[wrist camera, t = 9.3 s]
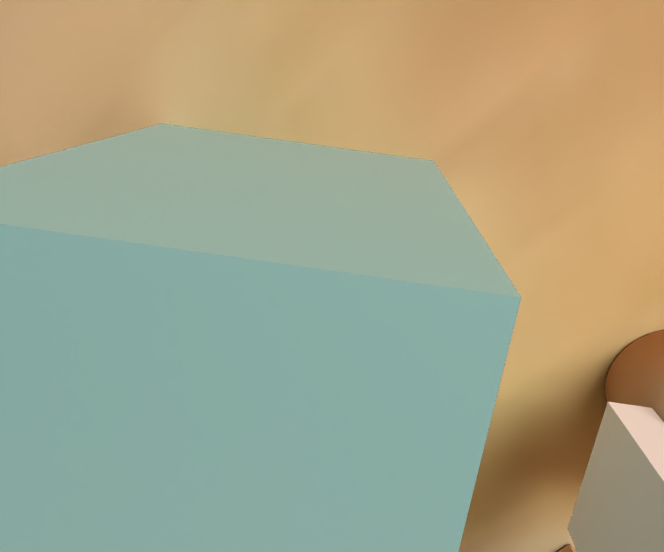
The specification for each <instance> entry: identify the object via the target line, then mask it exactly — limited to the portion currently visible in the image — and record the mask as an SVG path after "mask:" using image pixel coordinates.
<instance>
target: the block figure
mask: <svg viewBox="0 0 664 552" xmlns="http://www.w3.org/2000/svg"><path fill="white" fill-rule="evenodd" d="M605 397H606V401H607V403H608V402H614V403H621V404H628V405H635V406H642V407H649V408H653V410H654V411H655V412H656V413H657V415H658V416H659V417H660V418H661V419H662V421H663V422H664V330H660V331H656V332H653V333H650V334H648V335H645V336H643V337H641V338H639V339H637V340H636V341H634V342H633V343H631V344H630V345H629V346H627V347H626V348H625V349H624V350H623V351H622V352H621V353H620V354H619V355H618V356H617V358H616V359H615V360H614V362H613V364H612V365H611V367H610V369H609V372H608V374H607V378H606V382H605ZM558 552H577V550H575V549H574V548H573V547H572V546H571V545H570V544H569V545H567V546H566V547H564V548H562V549H561V550H559V551H558Z"/></svg>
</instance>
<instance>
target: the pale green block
mask: <svg viewBox="0 0 664 552" xmlns="http://www.w3.org/2000/svg"><path fill="white" fill-rule="evenodd" d="M520 300H521V296H520V294H519V293H518V291H517V290H516V288H515V287H514V285H513V284H512V282H511V280H510V279H509V277H508V276H507V274H506V273H505V271H504V269H503V268H502V266H501V265H500V263H499V262H498V260H497V259H496V257H495V255H494V254H493V252H492V251H491V249H490V248H489V246H488V244H487V243H486V241H485V240H484V238H483V237H482V235H481V234H480V232H479V230H478V229H477V227H476V226H475V224H474V223H473V221H472V219H471V218H470V216H469V215H468V213H467V212H466V210H465V209H464V207H463V205H462V204H461V202H460V201H459V199H458V198H457V196H456V194H455V193H454V191H453V190H452V188H451V187H450V185H449V184H448V182H447V180H446V179H445V177H444V176H443V174H442V173H441V171H440V169H439V168H438V166H437V165H436V163H435V162H434V161H432V160H424V159H417V158H410V157H403V156H395V155H388V154H381V153H373V152H366V151H359V150H351V149H344V148H337V147H329V146H322V145H315V144H307V143H300V142H293V141H285V140H278V139H271V138H264V137H256V136H249V135H242V134H234V133H227V132H220V131H212V130H205V129H198V128H190V127H183V126H176V125H168V124H158V125H155V126H151V127H147V128H144V129H140V130H136V131H132V132H129V133H125V134H121V135H117V136H114V137H110V138H106V139H102V140H99V141H95V142H91V143H88V144H84V145H80V146H76V147H73V148H69V149H65V150H61V151H58V152H54V153H50V154H47V155H43V156H39V157H35V158H32V159H28V160H24V161H20V162H17V163H13V164H9V165H6V166H2V167H0V552H459V547H460V543H461V539H462V535H463V531H464V527H465V523H466V519H467V515H468V511H469V507H470V503H471V499H472V495H473V491H474V487H475V483H476V479H477V475H478V470H479V466H480V462H481V458H482V454H483V450H484V446H485V442H486V438H487V434H488V430H489V426H490V422H491V418H492V414H493V410H494V406H495V402H496V398H497V393H498V389H499V385H500V381H501V377H502V373H503V369H504V365H505V361H506V357H507V353H508V349H509V345H510V341H511V337H512V333H513V329H514V325H515V321H516V317H517V312H518V308H519V304H520Z"/></svg>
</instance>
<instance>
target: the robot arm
mask: <svg viewBox="0 0 664 552" xmlns="http://www.w3.org/2000/svg"><path fill="white" fill-rule="evenodd" d="M568 531H569V533H570V536H571V538H572V541H573V543H574V545H575V548H576V550H577V552H664V422H663V421H662V419H661V418H660V417H659V416H658V415H657V413H656V412H655V411H654V410H653V408H649V407H642V406H635V405H628V404H621V403H614V402H608V403H607V406H606V409H605V412H604V415H603V418H602V422H601V425H600V428H599V431H598V434H597V437H596V440H595V444H594V447H593V450H592V453H591V456H590V459H589V462H588V466H587V469H586V472H585V475H584V478H583V481H582V485H581V488H580V491H579V494H578V497H577V500H576V503H575V507H574V510H573V513H572V516H571V519H570V522H569V525H568Z"/></svg>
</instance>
